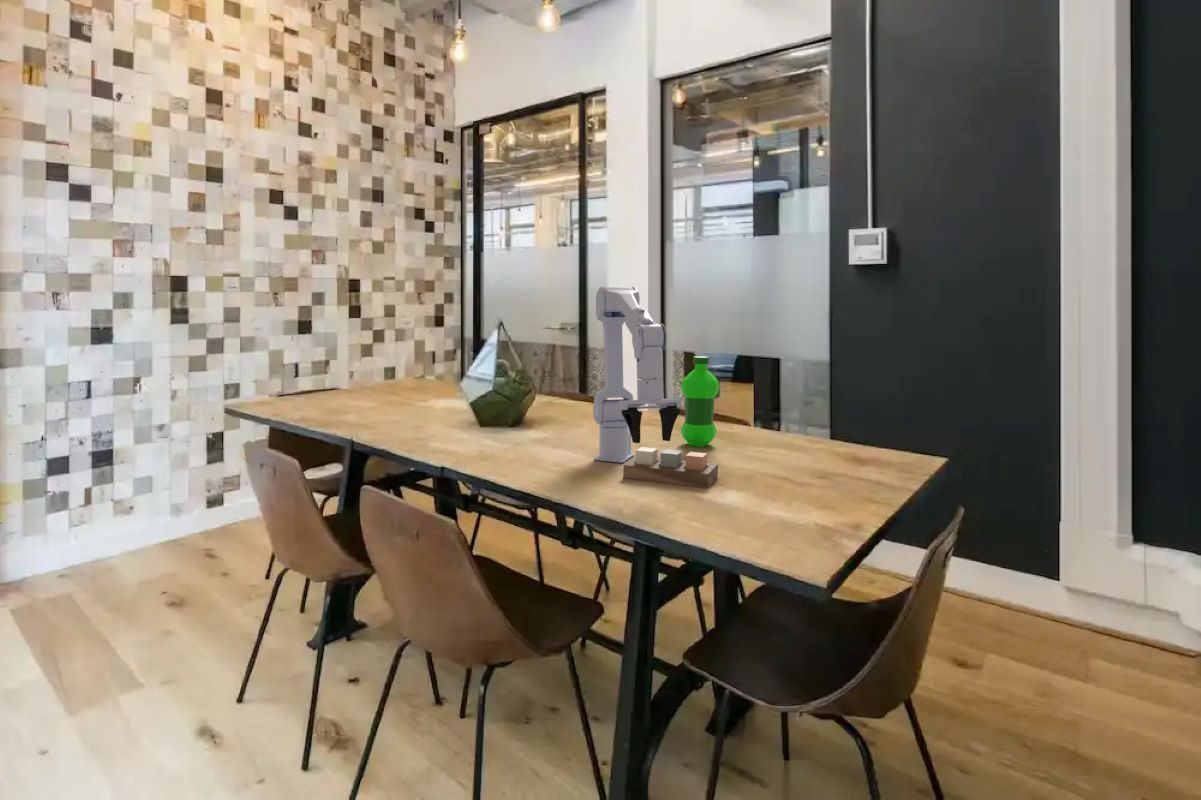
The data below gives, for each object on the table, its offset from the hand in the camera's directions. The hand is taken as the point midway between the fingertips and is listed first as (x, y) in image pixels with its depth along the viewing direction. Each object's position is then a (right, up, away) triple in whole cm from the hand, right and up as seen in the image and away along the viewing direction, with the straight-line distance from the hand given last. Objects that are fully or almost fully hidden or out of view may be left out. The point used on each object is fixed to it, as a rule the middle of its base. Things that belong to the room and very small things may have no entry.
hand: (651, 441), depth 156 cm
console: (+5, -9, +11) cm, 15 cm away
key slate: (+5, -7, +11) cm, 14 cm away
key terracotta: (+11, -7, +9) cm, 15 cm away
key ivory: (0, -6, +13) cm, 14 cm away
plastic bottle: (+17, -4, +47) cm, 50 cm away
